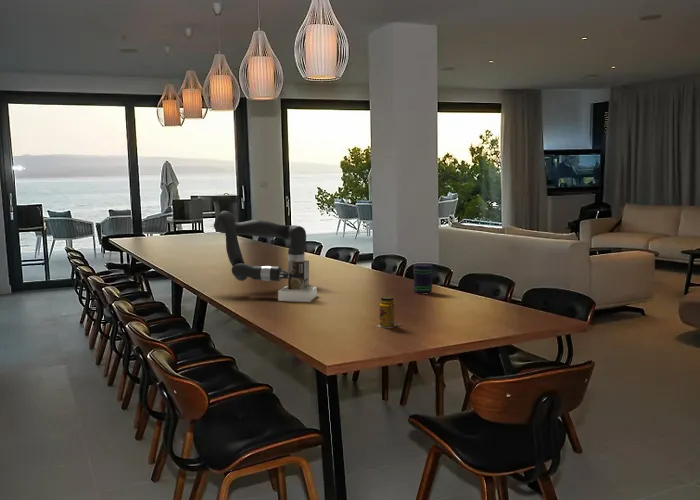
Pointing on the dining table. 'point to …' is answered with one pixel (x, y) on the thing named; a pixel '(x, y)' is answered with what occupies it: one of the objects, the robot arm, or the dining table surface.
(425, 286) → the storage jar
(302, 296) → the white square tray
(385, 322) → the condiment
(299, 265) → the coffee box
